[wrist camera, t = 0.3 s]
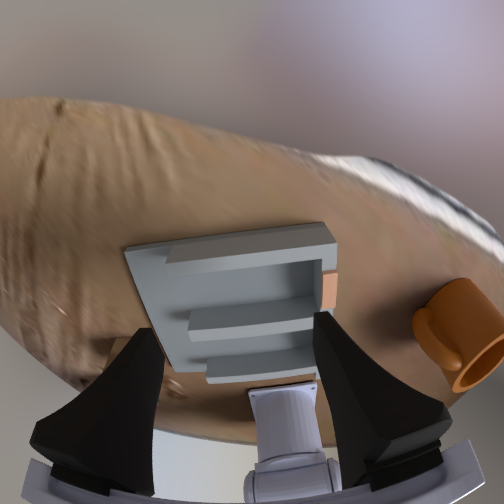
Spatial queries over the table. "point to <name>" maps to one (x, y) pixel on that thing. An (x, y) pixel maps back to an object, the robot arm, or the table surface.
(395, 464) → the robot arm
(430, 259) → the table surface
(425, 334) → the mug
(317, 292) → the socket board
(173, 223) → the table surface
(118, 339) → the plug
